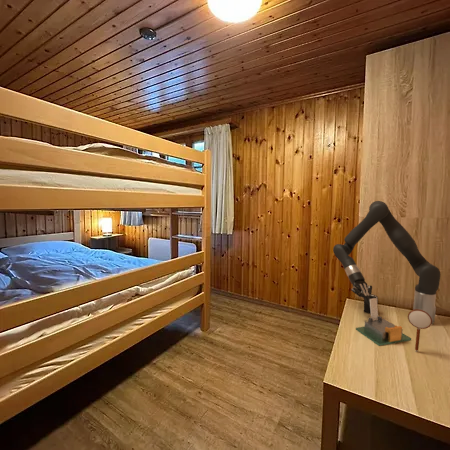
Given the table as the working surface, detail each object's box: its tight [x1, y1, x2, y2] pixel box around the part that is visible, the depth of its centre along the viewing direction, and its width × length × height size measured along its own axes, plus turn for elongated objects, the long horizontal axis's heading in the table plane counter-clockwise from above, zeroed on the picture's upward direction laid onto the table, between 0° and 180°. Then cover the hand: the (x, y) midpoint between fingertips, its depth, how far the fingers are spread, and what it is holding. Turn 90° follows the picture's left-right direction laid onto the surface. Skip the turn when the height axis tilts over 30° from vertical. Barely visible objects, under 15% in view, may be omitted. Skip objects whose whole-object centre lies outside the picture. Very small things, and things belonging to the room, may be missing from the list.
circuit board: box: [355, 315, 412, 347], centre depth 128 cm, size 19×15×8 cm
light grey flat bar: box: [370, 298, 379, 320], centre depth 134 cm, size 4×11×1 cm
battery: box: [363, 293, 379, 315], centre depth 152 cm, size 7×4×11 cm, turn 47°
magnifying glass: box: [407, 309, 433, 352], centre depth 114 cm, size 9×2×20 cm, turn 49°
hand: (369, 303), depth 136 cm, fingers closed
